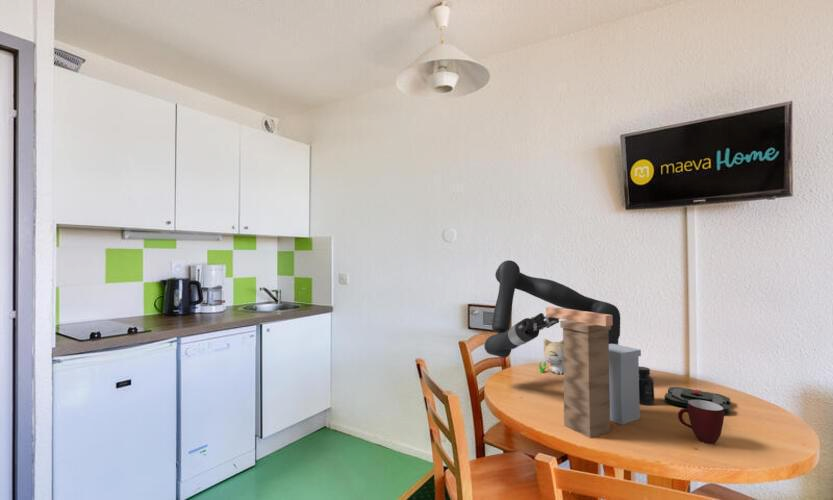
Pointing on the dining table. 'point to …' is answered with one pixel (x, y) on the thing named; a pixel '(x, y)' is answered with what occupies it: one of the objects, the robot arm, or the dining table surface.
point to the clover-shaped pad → (695, 397)
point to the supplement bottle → (645, 387)
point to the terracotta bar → (580, 316)
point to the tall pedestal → (586, 377)
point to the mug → (704, 420)
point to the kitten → (553, 356)
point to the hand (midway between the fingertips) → (552, 314)
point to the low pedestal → (624, 383)
